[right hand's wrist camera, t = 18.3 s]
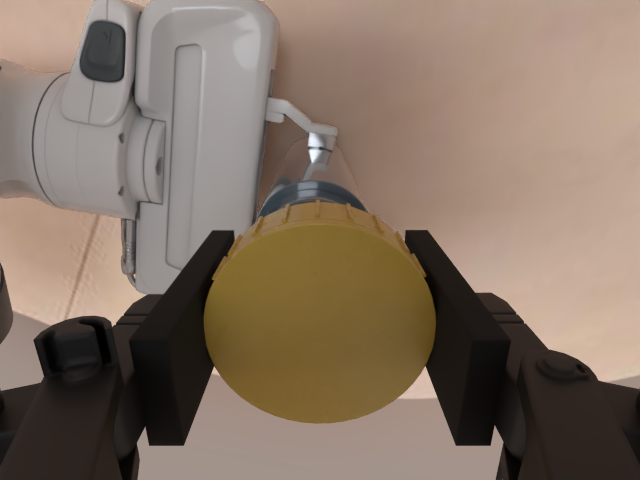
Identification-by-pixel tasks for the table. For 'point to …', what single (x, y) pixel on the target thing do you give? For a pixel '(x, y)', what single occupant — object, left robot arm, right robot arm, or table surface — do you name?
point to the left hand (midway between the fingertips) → (327, 186)
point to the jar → (312, 179)
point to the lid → (319, 314)
